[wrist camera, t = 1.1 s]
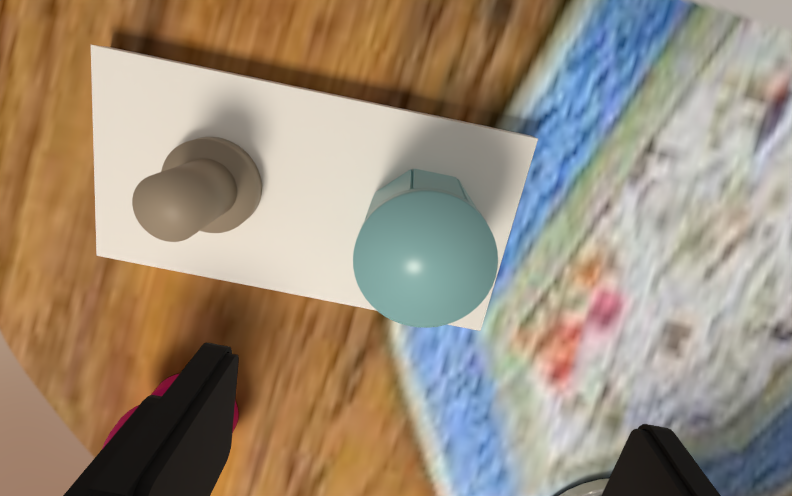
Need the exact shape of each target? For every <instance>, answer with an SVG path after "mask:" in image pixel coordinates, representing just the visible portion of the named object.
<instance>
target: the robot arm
mask: <svg viewBox="0 0 792 496" xmlns="http://www.w3.org/2000/svg"><path fill="white" fill-rule="evenodd" d="M238 362H239V357H238V355H235V354H232V350H231V347H228V346H223V345H217V344H212V343H204V344H203V345H202V346H201V348H200V349H199V350H198V351H197V353H196V354H195V355H194V357H193V358H192V359H191V360H190V362H189V363H188V364H187V365H186V367H185V368H184V369H183V370H182V372H181V373H180V374H179V375H178V377H177V378H176V379H175V380H174V382H173V383H172V384H171V386H170V387H169V388H168V389H167V391H166V392H165V393H164V394H163V396H157V395H150V396H148V397H147V398H146V399H145V400H144V401H142V403H141V404H140V405H139V406H138V407H137V409H136V410H135V411H134V412H133V413H132V415H131V416H130V417H129V418H128V419H127V421H126V422H125V423H124V424H123V425H122V426H121V428H120V429H119V430H118V431H117V432H116V434H115V435H114V436H113V437H112V438H111V440H110V441H109V442H108V443H107V444H106V445H105V447H104V448H103V449H102V450H101V451H100V453H99V454H98V455H97V456H96V457H95V459H94V460H93V461H92V462H91V463H90V465H89V466H88V467H87V468H86V469H85V470H84V472H83V473H82V474H81V475H80V476H79V478H78V479H77V480H76V481H75V482H74V484H73V485H72V486H71V487H70V488H69V490H68V491H67V492H66V493H65V494H64V495H63V496H210V495H211V492H212V490H213V488H214V486H215V484H216V482H217V480H218V478H219V476H220V474H221V472H222V470H223V468H224V466H225V464H226V462H227V459H228V456H229V453H230V449H231V441H232V430H233V419H234V407H235V396H236V385H237V373H238ZM559 496H720V494H719V493H718V492H717V490H716V489H715V488H714V486H713V485H712V484H711V482H710V481H709V479H708V478H707V477H706V475H705V474H704V473H703V471H702V470H701V469H700V467H699V466H698V465H697V463H696V462H695V460H694V459H693V458H692V456H691V455H690V454H689V452H688V451H687V450H686V448H685V447H684V446H683V444H682V443H681V441H680V440H679V439H678V437H677V436H676V435H675V433H674V432H673V431H672V430H670V429H668V428H664V427H659V426H653V425H648V424H642V425H641V426H639V428H638V429H634V430H633V431H632V432H631V433H630V435H629V438H628V440H627V442H626V444H625V446H624V448H623V450H622V453H621V455H620V457H619V459H618V461H617V463H616V465H615V468H614V470H613V472H612V474H611V476H610V478H609V479H600V480H595V481H591V482H587V483H584V484H581V485H579V486H576V487H574V488H571V489H569V490H567V491H566V492H564V493H562V494H561V495H559Z"/></svg>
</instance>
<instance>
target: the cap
mask: <svg viewBox="0 0 792 496" xmlns="http://www.w3.org/2000/svg"><path fill="white" fill-rule="evenodd" d="M353 269H354V275H355V278H356V281H357V284H358V286H359V288H360V290H361V292H362V294H363V295H364V297H365V298H366V300H367V301H368V302H369V303H370V304H371V306H373V307H374V308H375V309H376V310H377V311H378V312H380V313H381V314H382V315H384V316H385V317H387V318H389V319H391V320H393V321H395V322H398V323H400V324H404V325H408V326H413V327H438V326H442V325H447V324H449V323H452V322H455V321H457V320H459V319H461V318H463V317H465V316H466V315H468V314H469V313H471V312H472V311H473V310H474V309H476V308H477V307H478V306H479V305H480V304H481V303H482V302H483V300H484V299H485V298H486V296H487V295H488V293H489V291H490V290H491V288H492V286H493V283H494V280H495V278H496V273H497V269H498V251H497V246H496V242H495V239H494V236H493V234H492V232H491V230H490V228H489V226H488V224H487V222H486V220H485V219H484V217H483V216H482V214H481V213H480V212H479V211H478V209H477V208H476V206H475V205H474V203H473V201H472V200H471V198H470V197H469V195H468V193H467V192H466V190H465V189H464V187H463V185H462V184H461V182H460V181H459V179H457V178H456V177H453V176H448V175H443V174H439V173H434V172H429V171H424V170H419V169H413V171H412V170H411V169H410V170H409V171H407V172H405V173H404V174H402V175H401V176H399V177H398V178H396V179H395V180H393V181H392V182H390V183H389V184H387V185H386V186H384V187H383V188H381V189H380V190H378V191H376V192H375V195H374V196H373V198H372V201H371V204H370V207H369V209H368V212H367V215H366V218H365V221H364V223H363V225H362V227H361V229H360V232H359V234H358V237H357V239H356V243H355V247H354V252H353Z"/></svg>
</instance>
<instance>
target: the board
mask: <svg viewBox="0 0 792 496" xmlns="http://www.w3.org/2000/svg"><path fill="white" fill-rule="evenodd" d="M91 70H92V106H93V142H94V178H95V214H96V250H97V256H102V257H107V258H112V259H117V260H122V261H127V262H132V263H137V264H142V265H148V266H153V267H158V268H163V269H168V270H173V271H178V272H183V273H188V274H193V275H199V276H204V277H209V278H214V279H219V280H224V281H229V282H234V283H239V284H244V285H250V286H255V287H260V288H265V289H270V290H275V291H280V292H285V293H290V294H295V295H300V296H306V297H311V298H316V299H321V300H326V301H331V302H336V303H341V304H346V305H351V306H357V307H362V308H367V309H372V310H376V309H375V308H374V307H373V306H371V304H370V303H369V302H368V301H367V300H366V298H365V297H364V295H363V294H362V292H361V290H360V288H359V286H358V284H357V281H356V278H355V275H354V269H353V252H354V247H355V243H356V239H357V237H358V234H359V232H360V229H361V227H362V225H363V223H364V221H365V218H366V215H367V212H368V209H369V207H370V204H371V201H372V198H373V196H374V195H375V192H376V191H378V190H380V189H381V188H383V187H384V186H386V185H387V184H389V183H390V182H392V181H393V180H395V179H396V178H398V177H399V176H401V175H402V174H404V173H405V172H407V171H409V170H410V169H411V170H412V171H413V169H419V170H424V171H429V172H434V173H439V174H443V175H448V176H453V177H456V178H457V179H459V181H460V182H461V184H462V185H463V187H464V189H465V190H466V192H467V193H468V195H469V197H470V198H471V200H472V201H473V203H474V205H475V206H476V208H477V209H478V211H479V212H480V213H481V214H482V216H483V217H484V219H485V220H486V222H487V224H488V226H489V228H490V230H491V232H492V234H493V236H494V239H495V242H496V246H497V251H498V269H497V273H496V277H497V274H498V271H499V267H500V264H501V261H502V257H503V254H504V251H505V247H506V244H507V241H508V237H509V234H510V231H511V227H512V224H513V221H514V217H515V214H516V211H517V207H518V204H519V201H520V197H521V194H522V191H523V187H524V184H525V181H526V177H527V174H528V171H529V167H530V164H531V161H532V157H533V154H534V151H535V147H536V144H537V141H538V139H537V138H535V137H533V136H531V135H526V134H521V133H516V132H512V131H507V130H502V129H497V128H493V127H488V126H483V125H478V124H474V123H469V122H464V121H459V120H455V119H450V118H445V117H440V116H436V115H431V114H426V113H421V112H417V111H412V110H407V109H402V108H398V107H393V106H388V105H383V104H379V103H374V102H369V101H364V100H360V99H355V98H350V97H345V96H341V95H336V94H331V93H326V92H321V91H317V90H312V89H307V88H302V87H298V86H293V85H288V84H283V83H279V82H274V81H269V80H264V79H260V78H255V77H250V76H245V75H241V74H236V73H231V72H226V71H222V70H217V69H212V68H207V67H203V66H198V65H193V64H188V63H184V62H179V61H174V60H169V59H165V58H160V57H155V56H150V55H146V54H141V53H136V52H131V51H127V50H122V49H117V48H112V47H106V46H97V45H91ZM495 281H496V278H495V280H494V283H493V286H492V288H491V290H490V291H489V293H488V295H487V296H486V298H485V299H484V300H483V302H482V303H481V304H480V305H479V306H478V307H477V308H476V309H474V310H473V311H472V312H471V313H469V314H468V315H466V316H465V317H463V318H461V319H459V320H457V321H455V322H452V323H449V324H448V325H453V326H458V327H464V328H469V329H474V330H479V331H481V327H482V324H483V321H484V317H485V314H486V311H487V307H488V304H489V301H490V297H491V294H492V291H493V287H494V284H495Z"/></svg>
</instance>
